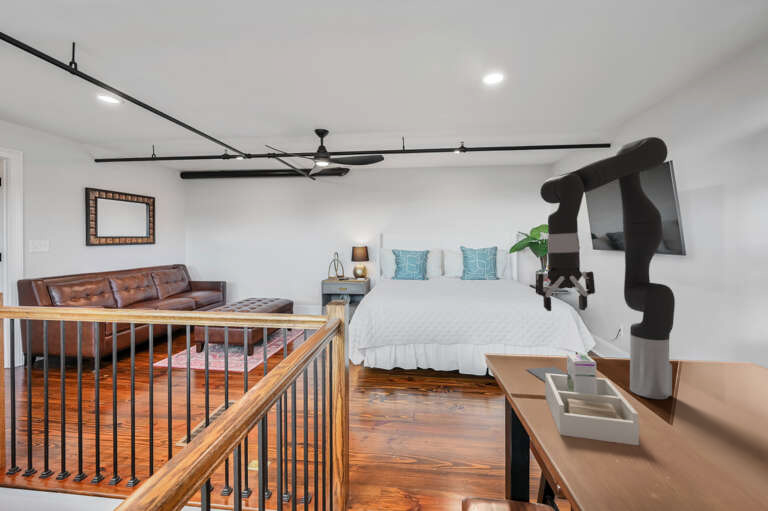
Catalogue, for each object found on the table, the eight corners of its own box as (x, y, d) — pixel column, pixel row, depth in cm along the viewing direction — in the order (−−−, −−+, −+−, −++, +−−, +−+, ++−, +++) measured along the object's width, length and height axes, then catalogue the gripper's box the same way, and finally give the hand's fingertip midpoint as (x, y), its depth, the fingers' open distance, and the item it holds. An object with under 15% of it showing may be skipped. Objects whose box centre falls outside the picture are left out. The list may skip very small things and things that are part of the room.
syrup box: (597, 416, 89) (598, 361, 88) (573, 414, 90) (573, 360, 89) (589, 406, 94) (589, 354, 94) (566, 404, 96) (566, 353, 95)
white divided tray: (545, 396, 101) (545, 373, 100) (607, 402, 96) (607, 378, 96) (559, 434, 81) (559, 405, 80) (638, 445, 76) (639, 414, 76)
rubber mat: (554, 368, 123) (554, 366, 123) (575, 380, 112) (575, 378, 112) (526, 370, 122) (526, 368, 122) (545, 382, 111) (545, 381, 111)
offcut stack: (563, 421, 87) (563, 398, 86) (617, 427, 83) (617, 403, 83) (567, 432, 82) (567, 407, 81) (625, 439, 78) (625, 414, 78)
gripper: (585, 248, 94) (587, 307, 95) (531, 251, 96) (533, 308, 97) (598, 249, 86) (600, 312, 87) (539, 252, 89) (541, 313, 89)
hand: (565, 310), depth 92 cm, fingers open, 8 cm apart
